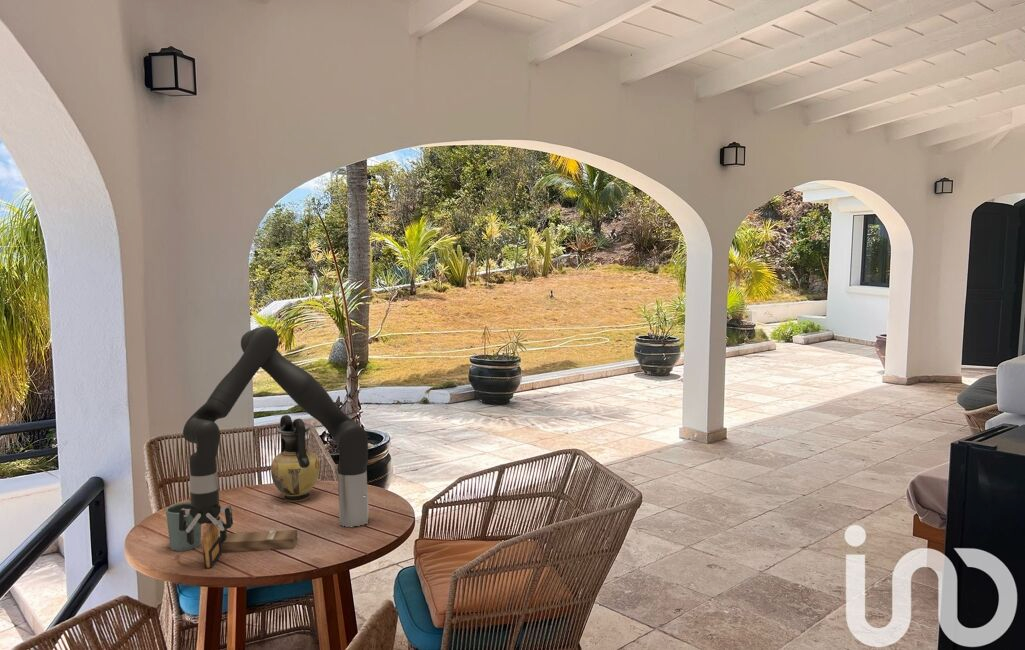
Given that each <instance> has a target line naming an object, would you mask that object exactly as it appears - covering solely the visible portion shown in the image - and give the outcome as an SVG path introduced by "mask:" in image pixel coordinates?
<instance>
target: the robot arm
mask: <svg viewBox="0 0 1025 650" xmlns="http://www.w3.org/2000/svg"><path fill="white" fill-rule="evenodd" d="M279 345H280V339H279V334H278V333H277V331H276V330H275V329H273V328H272V327H269V326H259V327H256V328H253V329H251V330H248V331H247V332H245V333H244V334H243V335H242V336H241V339H240V347H241V349H242V350H241V351H242V352H243V353H242V355H241V357H240V358H239V360H238V361H237V362H236V364H235V365H234V366H232V367H233V368H231V370H229V372H228V373H226V375H224V377H223V378H222V379H220V382H219V383H218V384H217V385H216V387H215V388H214V390H212V393H211V394H210V395H209V397H208V398H207V401H206V402H205V403H203V404H202V406H201V407H199V408H198V409H197V410H196V411H195V412H193V414H192V415H191V416H190V417H189V418H188V419H187V420H186V422H185V424H184V426H183V430H182V431H183V432H182V435H183V438H184V439H185V441H187V442H189V443H191V444H196V445H197V446H196V447H197V448H196V452H194V453H192V454H191V455H190V457H189V495H190V502H191V509H186V508H182V509H181V510H180V512H179V530H180V531H185V532H186V533H187V542H188V543H189V545H193V543H194V530H192V528H193V527H194V526H195V524H196V523H199V524H201V525H204V524H208V523H209V524H210V523H212V522H213V523H214V525H215V526H217V528H218V530H220V531H219V533H220V543H224V541H225V540H226V538H227V534H228V533H227V532H228V531H227V529H231V527H233V525H234V522H233V520H234V519H233V511H232V505H227V506H224V507H223V506H222V507H221V506H220V493H219V492H220V490H219V478H218V477H219V476H218V472H217V471H218V470H217V454H218V451H219V445H220V441H221V432H220V427H219V426H218V424H217V423H216V421H217V420H219V419H224V418H227V416H228V415H229V414H230V412H231V411H232V409H233V407H235V404H236V403H237V402H238V399H239V398H240V397H241V395H242V394H243V392H244V391H245V389H246V388H247V386H248V385H249V383H250V382H251V381H252V379H253V378H254V376H255V374H256V373H258V371H259V370H260V369H262V370H263V371H264V372H265V373H267V374H268V375H269V376H270V377H271V378H272V379H273V381H274V382H276V384H277V385H278V386H279V387H280V388H281V389H282V390H283V391H284V392H285V393H286V394H287V395H288V396H289V397H290V398H291V399H292V401H294V403H296V404H297V406H299V407H300V408H301V409H302V410H303V411H304V412H306V413H307V414H308V415H310V416H311V417H312V418H313V419H315V420H317V421H318V422H319V424H321V425H322V426H323V427H324V428H325V430H326V431H327V432H328V433H329V435H330V436H331V437H332V438H333V440H334V441H335V442H336V444H337V445H338V448H339V449H338V450H339V456H338V457H339V460H338V461H339V462H338V463H337V485H338V486H337V490H338V514H339V516H338V521H339V526H341V525H342V526H341V527H344V526H345V527H344V528H354V527H353V526H358V527H361V526H360V525H362V526H365V525H364V524H367V525H368V524H369V518H370V517H369V514H370V513H369V491H368V475H367V474H368V471H367V466H368V462H369V439H368V434H367V431H366V430H365V428H363V427H362V425H360V424H359V423H358V422H356V421H355V420H353V419H352V418H350V417H349V416H348V415H347V414H346V413H344V412H343V411H342V410H341V408H339V407H338V405H336V403H335V402H334V400H333V399H332V397H331V396H330V395H329V393H328V391H326V389H325V388H324V387H323V386H322V385H321V384H320V382H318V380H317V379H316V378H315V377H314V376H313V375H312V374H310V373H309V372H308V371H306V370H305V369H303V368H301V367H300V366H298V365H296V364H294V363H292V361H290V360H288V359H287V358H286V357H284V355H283V354H281V352H280V351H279V350H278V348H279ZM189 513H190V515H191V516H192V517H193V518H194V519H193V521H192V522H191V523H190V525H189V526H188V525H186V517H187V516H188V514H189ZM221 513H222V514H223V515H224V517H225V521H224V520H223V518H222V517H221V515H220V514H221ZM351 526H352V527H351Z"/></svg>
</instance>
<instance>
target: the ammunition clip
mask: <svg viewBox="0 0 1025 650" xmlns="http://www.w3.org/2000/svg"><path fill="white" fill-rule="evenodd" d="M219 533H220V532H219V528H218V527H217V526H215V525H214V523H213V522H212V523H210V524H209V523H208V524H207V523H205V526H203V529H202V535H203V537H202V539H203V540H202V543H203V544H202V546H203V545H204V551H202V553H203V554H202V555H203V563H204V569H212V568H213V567H214V566H215V564H216V562H217V561H218V559H219V558H220V556H221V555H222V553H223V552H222V550H221V543H220V537H219Z"/></svg>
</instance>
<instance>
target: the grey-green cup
mask: <svg viewBox="0 0 1025 650" xmlns="http://www.w3.org/2000/svg"><path fill="white" fill-rule="evenodd" d="M182 508H186V509H191V501H186V502H185V501H184V502H180V503H175V504H172V505H170V506H167V508H165V514H166V521H167V522H166V524H167V529H168V540H169V548H171V549H172V550H171V549H170V550H171V551H173V550H177V551H176V552H184V550H186V551H189V549H191V550H194V549H196V548H198V547H199V546H200V545H201V541H202V524H199V523H196V524H195V526H194V527H193V528H192V530H194V543H193V545H189V543H188V542H187V533H186V532H185V531H180V530H179V512H180V510H181V509H182ZM193 519H194V518H193V517H192V516H191V515H190V513H189V514H188V516H187V517H186V525H188V526H189V525H190V523H191V522H192V521H193ZM197 546H198V547H197ZM195 547H196V548H195ZM193 548H194V549H193Z"/></svg>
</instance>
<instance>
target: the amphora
mask: <svg viewBox="0 0 1025 650" xmlns="http://www.w3.org/2000/svg"><path fill="white" fill-rule="evenodd" d="M279 421H280V422H279V427H278V428H277V429H276V432H277V433H279V434H280V443H281V445H280V446H281V448H280V450H281V451H280V453H278V454H277V455H276V456H275V457H274V458H273V459H272V462H271V465H270V474H271V475H270V476H271V480H272V482H273V484H274V485H275V487H276V489H278V491H280V493H282V494H283V495H284V496H283V499H284V501H285V502H293V503H295V502H302V501H305V500H308V499H309V498H310V497H311V493H310V492H311V490H312V489H313V488H314V486H315V485H316V483H317V481H318V479H319V476H320V465H321V464H320V460H319V457H318V455H317V454H316V453H314V452H313V451H311V450H309V449H306V448H307V447H306V434H307V432H308V431H309V430H310V429H311V426H310V425H307V424H305V422H304V420H303V419H301V418H295V419H294V420H293V421H292V417H291V415H288V414H285V415H282V416H281V417H280V420H279Z"/></svg>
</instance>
